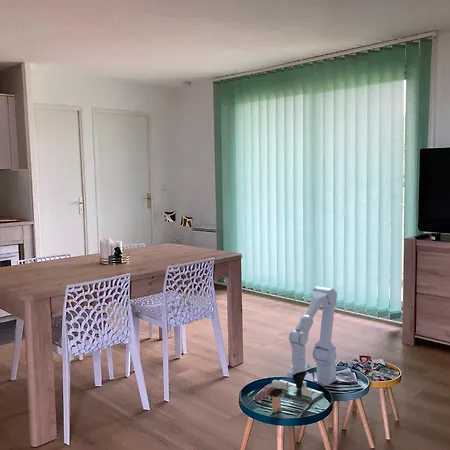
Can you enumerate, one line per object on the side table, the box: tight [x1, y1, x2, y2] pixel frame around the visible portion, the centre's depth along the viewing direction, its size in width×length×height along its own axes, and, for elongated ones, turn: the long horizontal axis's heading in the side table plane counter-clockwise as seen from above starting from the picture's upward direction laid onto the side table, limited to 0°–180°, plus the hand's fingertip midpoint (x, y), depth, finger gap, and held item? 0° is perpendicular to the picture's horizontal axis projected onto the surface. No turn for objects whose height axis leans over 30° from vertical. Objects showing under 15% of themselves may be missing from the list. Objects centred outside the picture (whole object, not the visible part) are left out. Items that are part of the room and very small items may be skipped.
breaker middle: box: [301, 380, 307, 389], centre depth 224 cm, size 2×4×3 cm, turn 48°
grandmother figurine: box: [267, 379, 285, 413], centre depth 207 cm, size 8×4×13 cm, turn 131°
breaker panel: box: [278, 381, 325, 405], centre depth 223 cm, size 11×19×2 cm, turn 48°
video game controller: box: [253, 383, 274, 402], centre depth 219 cm, size 10×5×7 cm, turn 143°
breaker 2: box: [302, 386, 313, 397], centre depth 217 cm, size 2×4×3 cm, turn 48°
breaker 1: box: [278, 379, 289, 390], centre depth 225 cm, size 2×4×3 cm, turn 48°
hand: (299, 388), depth 223 cm, fingers closed
